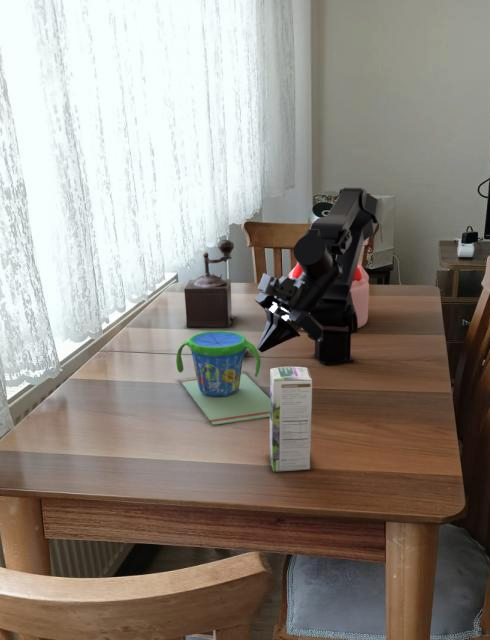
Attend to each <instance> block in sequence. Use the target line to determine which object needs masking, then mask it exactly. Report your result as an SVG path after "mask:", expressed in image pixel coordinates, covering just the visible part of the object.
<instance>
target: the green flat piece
mask: <svg viewBox="0 0 490 640" xmlns="http://www.w3.org/2000/svg"><path fill="white" fill-rule="evenodd" d="M179 381H180V383H181V385H183V387H184V388H185V390H186V391H187V392H188V394H189V395H190V396H191V398H192V399H193V401H194V402H195V403H196V405H197V406H198V407H199V409H200V410H201V411H202V413H203V414H204V415H205V417H206V418H207V419H208V421H209V422H210V423H211V425H212V426H218V425H224V424H231V423H238V422H239V423H240V422H244V421H245V422H246V421H251V420H259V419H264V418H270V396H268V395H267V394H266V393H265V392H264V391H263V390H262V389H261V388H260V387H259V386H258V385H257V384H256V383H255V382H254V381H253V380H252V379H251V378H250V377H249V376H248V375H247V374H246V373H245V372H244V371H243V370H241V377H240V385H239V389H238V391H236V392H235V393H233V394H230V395H227V396H221V395H219V396H210V395H205V394H204V393H202V392H201V391H200V389H199V386H198V381H197V377H191V378H183V379H179Z"/></svg>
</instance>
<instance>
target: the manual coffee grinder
mask: <svg viewBox="0 0 490 640" xmlns="http://www.w3.org/2000/svg"><path fill="white" fill-rule="evenodd" d="M234 247H235V244H234V242H233V241H232V240H229V239H222V240H220V241H219V242H218V243H217V248H218V250H219V251H220V257H219V258H218V259H210V258H209V253H208V252H203V254H202V257H203V258H202V259H203V263H204V274H203V275H201V276H199V277H197V278H195V279H189V281H188V282H187V284H186V286H185V287H184V302H185V303H184V304H185V318H186V328H191V329H192V328H195V329H196V328H199V329H201V328H202V329H203V328H204V329H205V328H206V329H207V328H208V329H211V328H229V327H230V326H231V324H232V322H233V321H234V319H235V316H234V315H233V311H232V309H233V308H232V305H233V304H232V285H231V282H232V280H231V278H222V277H223V274H220V276H218V275H216V274H214V273H212V274H211V273H210V268H209V267H210V266H209V264H219V263H222V262H225V263H227V261H228V260H232V259H233V258H232V251H233V250H234Z"/></svg>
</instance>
